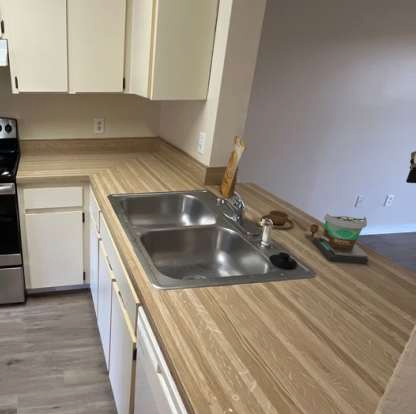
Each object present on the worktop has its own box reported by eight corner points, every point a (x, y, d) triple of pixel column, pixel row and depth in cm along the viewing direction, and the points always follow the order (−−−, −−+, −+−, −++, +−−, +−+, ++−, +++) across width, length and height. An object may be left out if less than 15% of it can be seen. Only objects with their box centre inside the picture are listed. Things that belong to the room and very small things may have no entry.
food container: (324, 247, 112) (332, 220, 108) (317, 238, 117) (325, 213, 113) (366, 251, 109) (376, 224, 105) (357, 242, 114) (366, 216, 110)
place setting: (291, 218, 141) (294, 205, 139) (318, 241, 123) (322, 227, 120) (249, 218, 141) (252, 205, 139) (270, 241, 123) (274, 226, 121)
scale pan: (348, 240, 118) (349, 238, 118) (367, 257, 107) (368, 255, 107) (319, 237, 119) (319, 235, 119) (334, 255, 109) (335, 253, 108)
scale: (346, 246, 119) (348, 239, 118) (366, 266, 108) (368, 258, 107) (312, 243, 121) (314, 236, 120) (328, 262, 110) (331, 255, 108)
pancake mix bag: (233, 187, 176) (242, 135, 165) (237, 200, 159) (247, 143, 148) (219, 186, 178) (227, 134, 167) (222, 199, 161) (231, 142, 150)
